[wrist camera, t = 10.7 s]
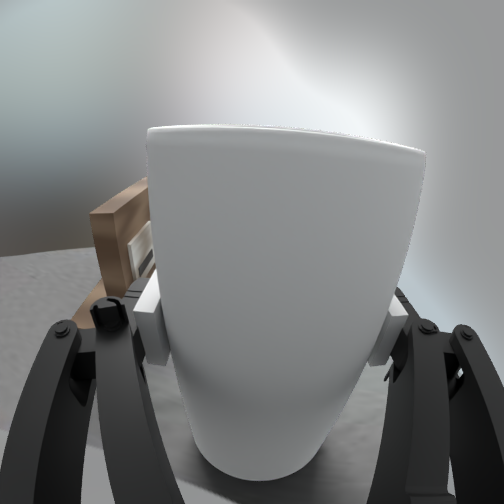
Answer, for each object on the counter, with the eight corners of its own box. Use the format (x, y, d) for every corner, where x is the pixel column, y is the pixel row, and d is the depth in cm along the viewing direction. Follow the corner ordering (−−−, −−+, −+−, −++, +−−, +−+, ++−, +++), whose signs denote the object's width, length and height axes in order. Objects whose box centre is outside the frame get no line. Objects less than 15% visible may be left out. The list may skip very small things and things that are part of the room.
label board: (145, 346, 22) (117, 213, 17) (70, 333, 22) (32, 215, 16) (181, 259, 36) (176, 169, 31) (125, 257, 36) (114, 172, 31)
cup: (348, 424, 14) (449, 157, 7) (250, 506, 10) (314, 134, 2) (263, 358, 20) (283, 126, 13) (168, 410, 15) (114, 131, 8)
